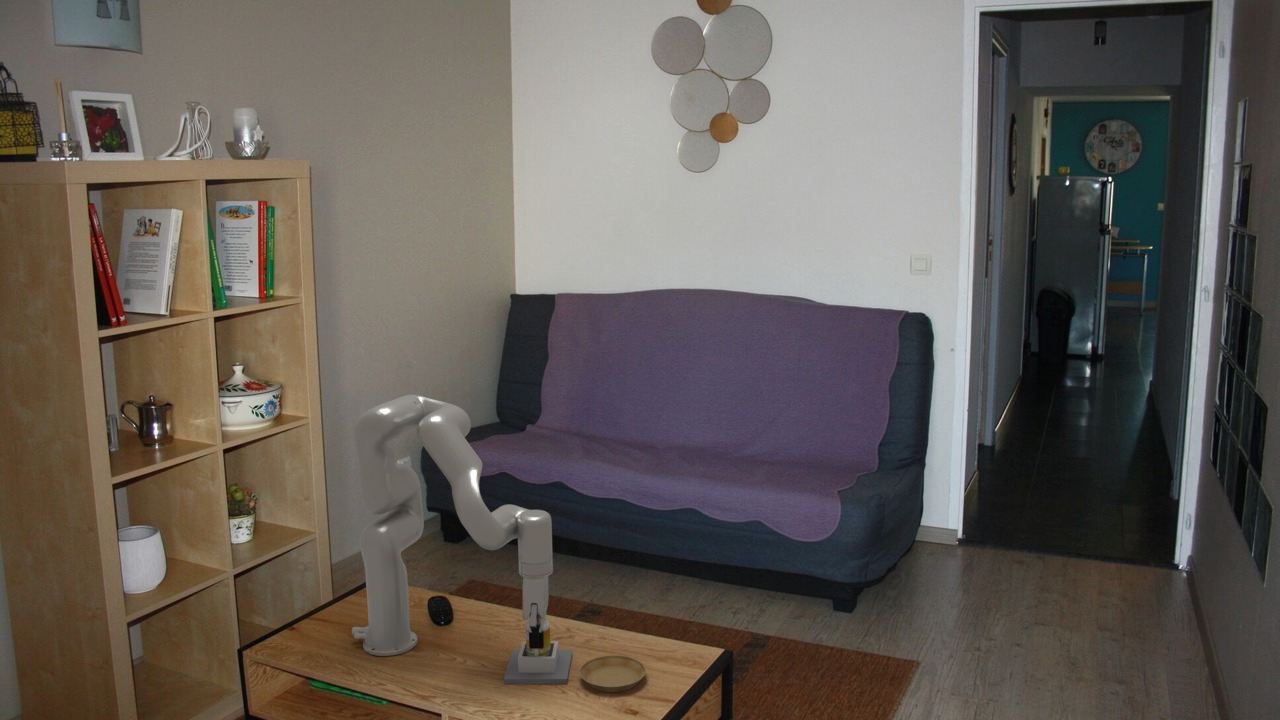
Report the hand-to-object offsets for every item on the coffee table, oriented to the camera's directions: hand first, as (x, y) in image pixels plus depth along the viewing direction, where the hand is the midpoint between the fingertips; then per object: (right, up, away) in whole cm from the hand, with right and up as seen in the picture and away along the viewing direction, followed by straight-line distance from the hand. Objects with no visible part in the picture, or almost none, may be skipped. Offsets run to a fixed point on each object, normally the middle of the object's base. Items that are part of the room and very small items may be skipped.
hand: (538, 641), depth 232 cm
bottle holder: (0, -7, +1) cm, 7 cm away
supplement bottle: (0, -3, +1) cm, 3 cm away
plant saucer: (+17, -8, -4) cm, 19 cm away
